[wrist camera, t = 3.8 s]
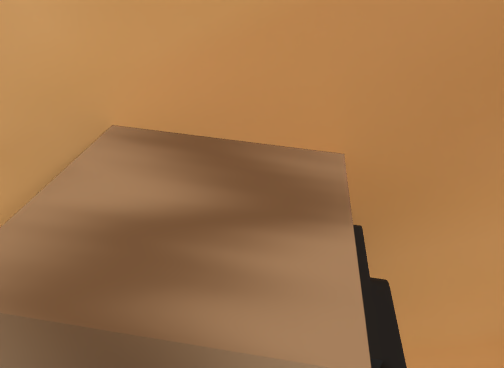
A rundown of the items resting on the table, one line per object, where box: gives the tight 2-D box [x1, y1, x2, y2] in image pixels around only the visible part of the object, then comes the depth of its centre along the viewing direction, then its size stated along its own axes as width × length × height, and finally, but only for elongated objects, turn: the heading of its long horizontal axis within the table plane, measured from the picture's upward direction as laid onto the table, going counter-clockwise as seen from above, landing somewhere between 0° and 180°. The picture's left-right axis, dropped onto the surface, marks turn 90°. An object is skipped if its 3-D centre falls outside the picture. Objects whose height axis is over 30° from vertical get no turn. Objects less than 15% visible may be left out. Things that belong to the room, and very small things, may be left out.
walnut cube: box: [0, 125, 371, 368], centre depth 9 cm, size 6×6×6 cm
